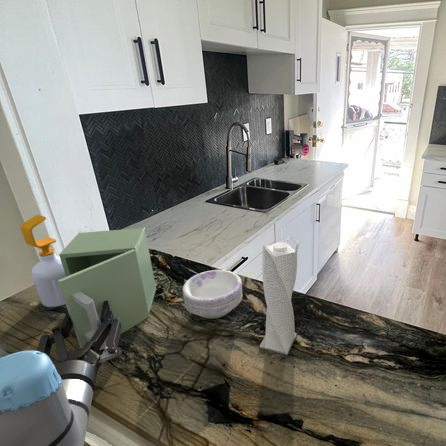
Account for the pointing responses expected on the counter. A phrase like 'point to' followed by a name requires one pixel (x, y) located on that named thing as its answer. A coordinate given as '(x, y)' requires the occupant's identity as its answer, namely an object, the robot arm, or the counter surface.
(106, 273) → the cupboard door
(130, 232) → the cupboard
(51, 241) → the soap bottle
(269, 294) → the skyscraper
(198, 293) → the paper bowls
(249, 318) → the counter surface
